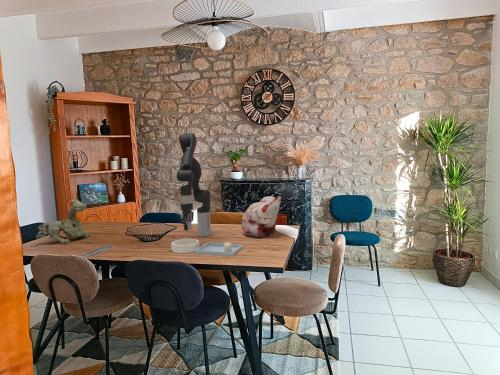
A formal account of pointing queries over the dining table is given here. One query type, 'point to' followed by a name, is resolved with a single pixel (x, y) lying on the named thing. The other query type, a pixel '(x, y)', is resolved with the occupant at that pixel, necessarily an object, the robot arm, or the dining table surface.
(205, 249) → the tray
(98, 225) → the dining table surface
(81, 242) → the dining table surface
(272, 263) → the dining table surface
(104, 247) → the plaque
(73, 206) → the sculpture
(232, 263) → the dining table surface
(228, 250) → the stone sand
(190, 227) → the stone slate
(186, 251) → the bowl
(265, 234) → the sculpture
